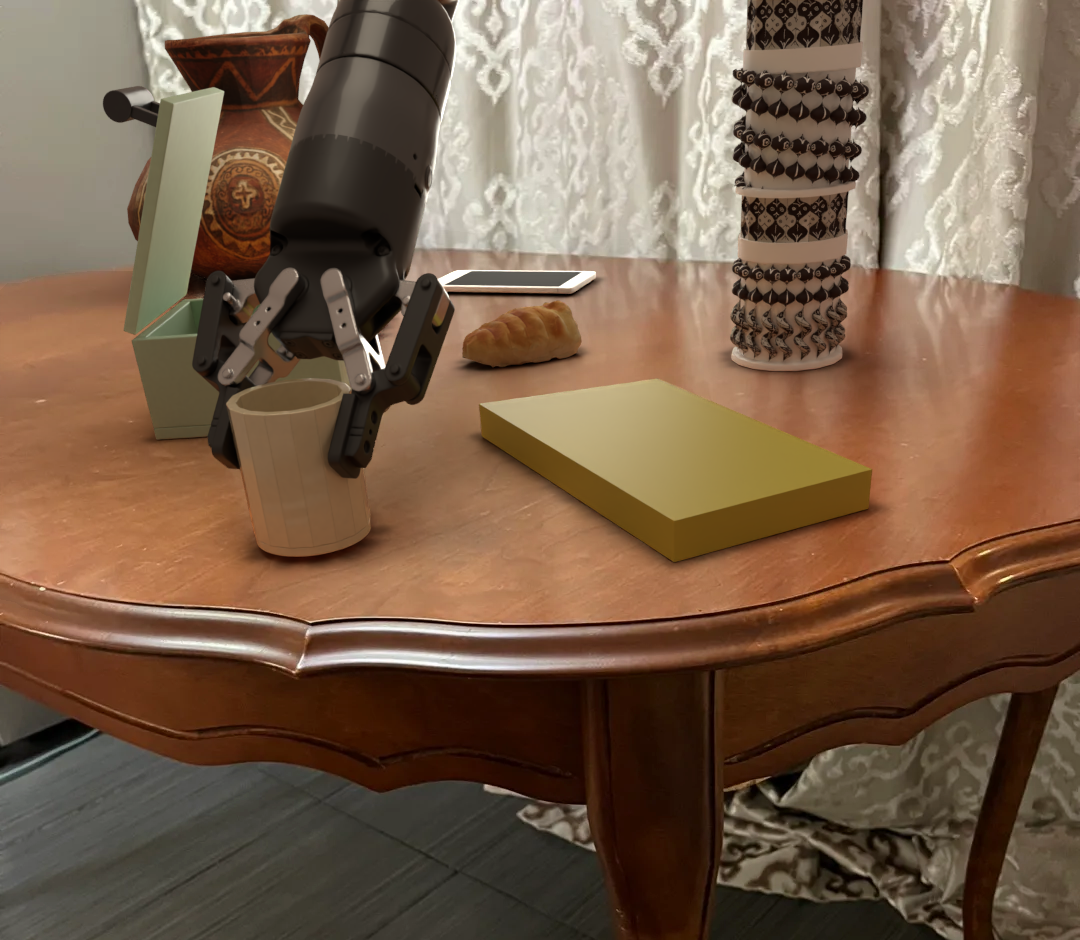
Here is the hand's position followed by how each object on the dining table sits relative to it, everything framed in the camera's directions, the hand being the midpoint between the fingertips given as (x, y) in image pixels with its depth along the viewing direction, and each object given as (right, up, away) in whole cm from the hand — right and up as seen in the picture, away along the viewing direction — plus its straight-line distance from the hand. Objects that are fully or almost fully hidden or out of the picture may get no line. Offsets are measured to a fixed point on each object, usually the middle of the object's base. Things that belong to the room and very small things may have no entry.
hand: (283, 466), depth 57 cm
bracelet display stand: (+32, +15, +29) cm, 46 cm away
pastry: (+12, +16, +34) cm, 40 cm away
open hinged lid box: (-7, +10, +26) cm, 29 cm away
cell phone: (+10, +32, +58) cm, 66 cm away
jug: (-19, +40, +75) cm, 87 cm away
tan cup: (+1, -3, +4) cm, 5 cm away
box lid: (-11, +22, +19) cm, 31 cm away
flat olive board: (+20, +2, +10) cm, 22 cm away
